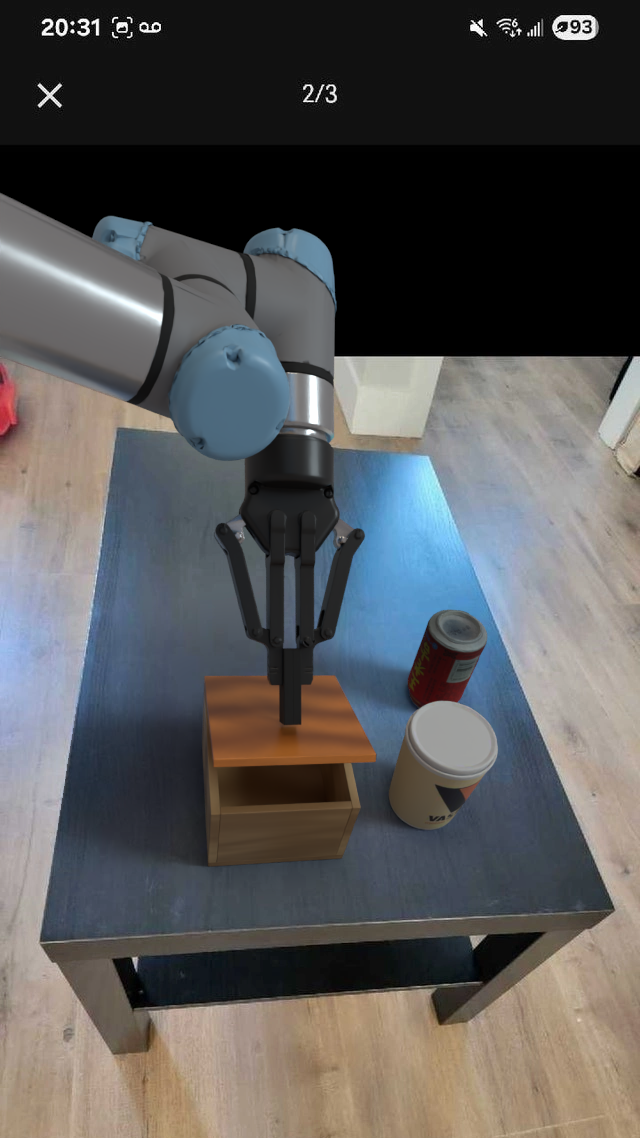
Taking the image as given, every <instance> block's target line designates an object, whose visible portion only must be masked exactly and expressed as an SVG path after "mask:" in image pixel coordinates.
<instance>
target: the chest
mask: <svg viewBox="0 0 640 1138" xmlns="http://www.w3.org/2000/svg"><path fill="white" fill-rule="evenodd" d="M202 699H203V701H202V702H203V703H202V727H201V728H202V730H201V748H202V749H201V750H202V770H203V789H204V790H203V791H204V811H205V812H204V813H205V831H206V833H205V834H206V835H205V836H206V853H207V854H206V856H207V867H225V866H241V865H242V866H243V865H256V864H257V865H258V864H270V863H271V864H273V863H289V862H304V861H305V862H306V861H322V860H337V859H339V860H340V859H343V856H344V855H345V852H346V850H347V847H348V843H349V842H350V841H349V840H350V838H351V836H352V833H353V830H354V827H355V825H356V821H357V819H358V816H359V813H360V811H361V808H362V805H361V802H360V798H359V792H358V788H357V784H356V783H357V782H356V778H355V774H354V770H353V763H334V764H302V765H271V766H240V767H213V760H212V751H211V741H210V732H209V723H208V714H207V705H206V695H205V686H204V685H203V698H202Z"/></svg>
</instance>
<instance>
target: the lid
mask: <svg viewBox="0 0 640 1138" xmlns="http://www.w3.org/2000/svg"><path fill="white" fill-rule="evenodd" d="M204 686H205V695H206V705H207V714H208V723H209V732H210V741H211V751H212V760H213V767H240V766H271V765H302V764H334V763H351V764H358V763H359V764H361V763H362V764H363V763H365V764H366V763H376V761H377V753H376V750H375V749H374V747H373V745H372V743H371V741H370V739H369V737H368V736H367V734H366V732H365V730H364V728H363V726H362V724H361V722H360V720H359V719H358V716H357V715H356V713H355V711H354V709H353V707H352V705H351V703H350V701H349V699H348V697H347V696H346V693H345V691H344V690H343V688H342V686H341V684H340V682H339V679H338V678H337V676H336V675H329V674H328V675H325V674H324V675H323V674H322V675H319V674H318V675H313V681H312V683H311V685H301V725H283V724H282V723H281V722H279V685H270V684H269V682H268V679H267V675H204V676H203V687H204Z"/></svg>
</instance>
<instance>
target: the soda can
mask: <svg viewBox="0 0 640 1138" xmlns="http://www.w3.org/2000/svg"><path fill="white" fill-rule="evenodd" d="M487 643H488V632H487V630H486V626H485V625H483V623H482V621H480V620H479V619H477V618H476V617H475V616H474V615H472V614H471V613H469V612H467V611H464V610H461V609H442V610H439V611H437V612H435V613H433V615H432V616H430V618H429V619H428V621H427V624H426V626H425V629H424V633H423V635H422V639H421V641H420V644H419V646H418V648H417V652H416V654H415V656H414V660H413V663H412V666H411V668H410V671H409V674H408V676H407V688H408V693H409V698H410V700H411V702H412V703H413V704H414V706H416V707H417V708H418V709H419V708H421V707H422V706H424V705H426V704H428V703H432V702H436V701H451V702H456V703H459V701H461V699H462V697H463V695H464V692H465V690H466V688H467V686H468V684H469V681H470V679H471V678H472V675H473V673H474V671H475V669H476V667H477V665H478V663H479V660H480V658H481V655H482V653H483V651H484V650H485V648H486V646H487Z"/></svg>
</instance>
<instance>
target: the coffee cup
mask: <svg viewBox="0 0 640 1138" xmlns="http://www.w3.org/2000/svg"><path fill="white" fill-rule="evenodd" d="M498 751H499V747H498V739H497V736H496V732H495V730H494V729H493V727H492V724H490V723H489V721H488V720H487V719H486V718H485V717H484V716H483V715H482V714H481V713H479V712H478V711H477V710H475V709H473V708H472V707H470V706H468V705H465V704H463V703H460V702H458V703H456V702H451V701H436V702H432V703H428V704H426V705H424V706H422V707H421V708H418V709H416V710H415V711H414V712H413V713H412V714H411V715H410V717H409V718H408V720H407V722H406V725H405V729H404V736H403V738H402V742H401V746H400V749H399V752H398V756H397V759H396V763H395V767H394V770H393V774H392V777H391V781H390V785H389V790H388V799H389V805H390V807H391V808H392V811H393V812H394V814H395V815H396V816H397V817H398V818H399V819H400V820H401V821H403V822H404V823H405V824H407V825H408V826H410V827H412V828H415V829H419V830H423V831H434V830H438V829H441V828H443V827H445V826H447V824H448V823H450V822H451V821H452V820H453V818H454V817H455V816H456V815H457V814H458V812H459V811H460V809H461V808H462V807H463V805H464V804H465V803H466V801H467V800H468V798H469V797H470V796H471V794H472V793H473V792H474V791H475V789H476V788H477V786H478V785H479V784H480V782H481V780H482V779H483V778H484V777H485V775H486V773H488V772H489V771H490V769H491V768H492V767H494V764H495V762H496V760H497V757H498V754H499V753H498Z"/></svg>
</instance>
